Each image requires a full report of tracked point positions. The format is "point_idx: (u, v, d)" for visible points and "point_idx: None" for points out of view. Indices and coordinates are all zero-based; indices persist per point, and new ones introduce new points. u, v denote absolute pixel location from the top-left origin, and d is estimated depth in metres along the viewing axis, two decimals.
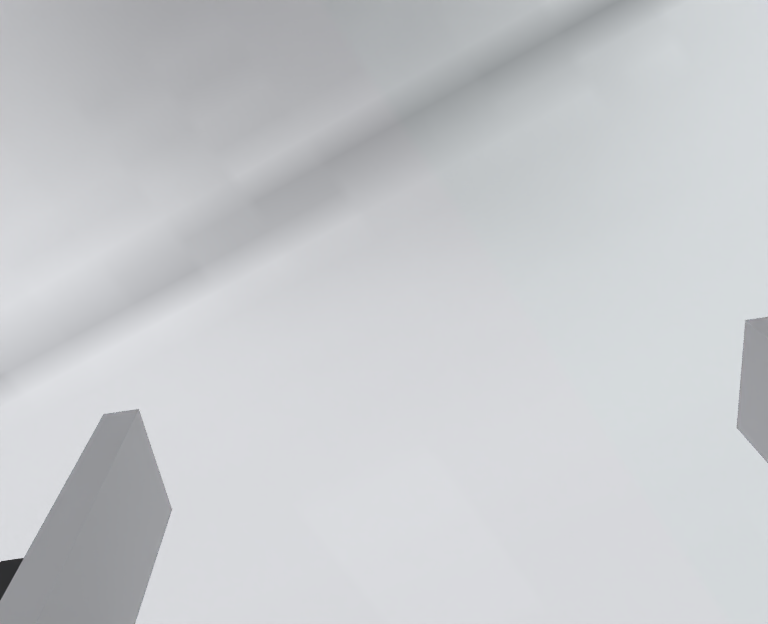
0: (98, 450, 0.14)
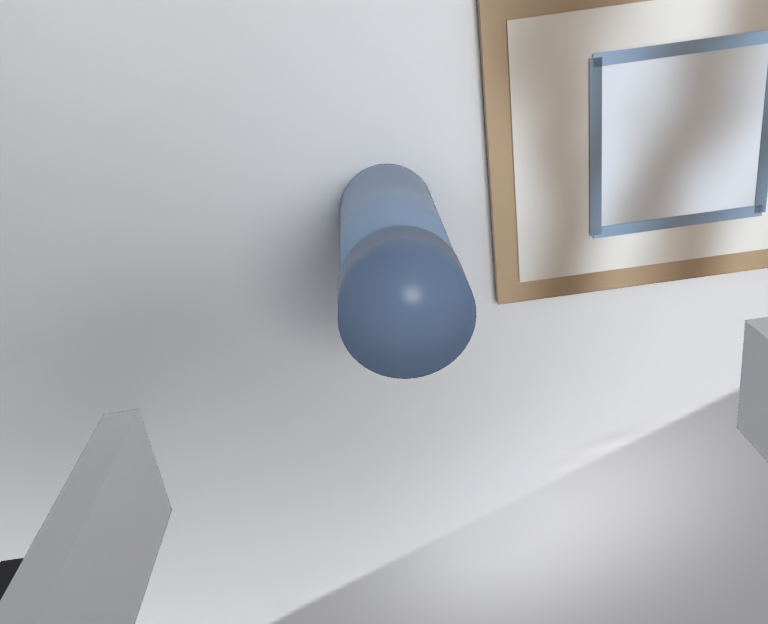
0: (99, 450, 0.14)
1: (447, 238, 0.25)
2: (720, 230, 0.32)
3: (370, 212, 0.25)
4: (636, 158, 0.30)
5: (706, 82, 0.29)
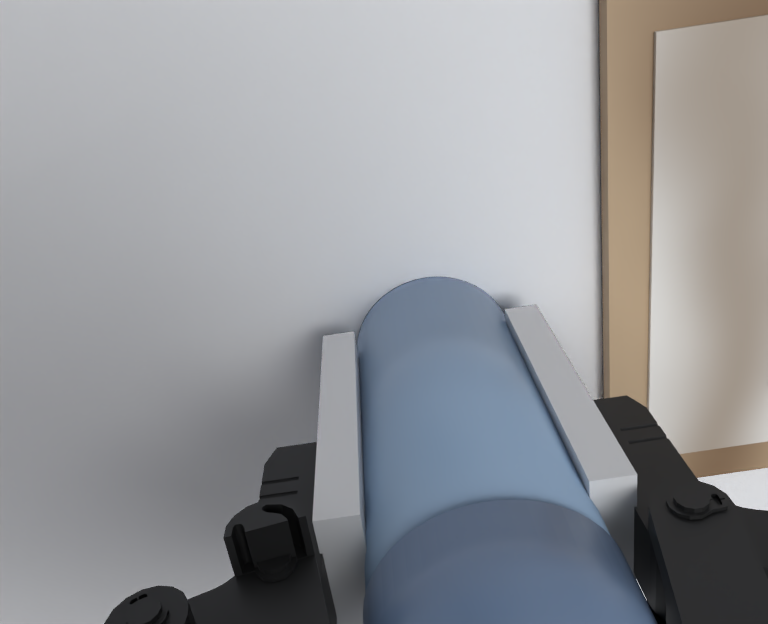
0: (336, 361, 0.16)
1: None
2: None
3: (424, 426, 0.12)
4: None
5: None
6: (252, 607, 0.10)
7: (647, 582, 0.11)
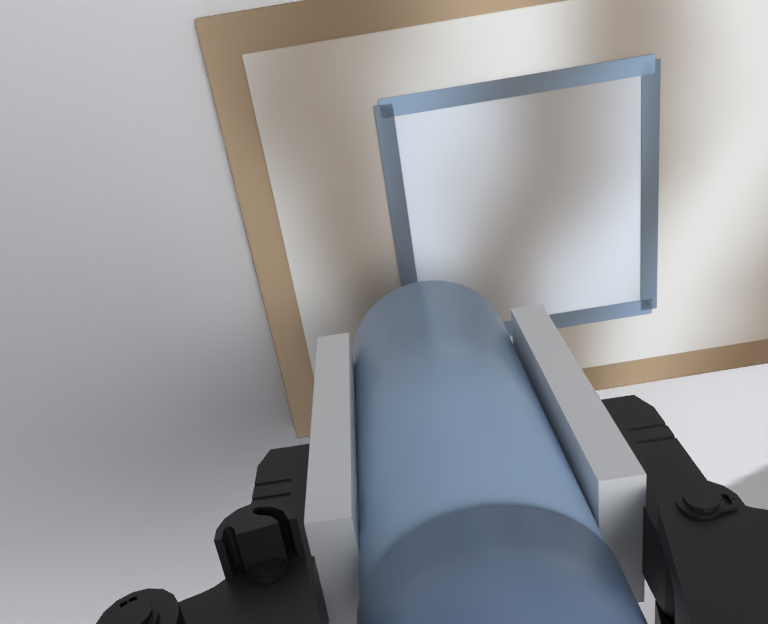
0: (329, 362, 0.16)
1: (579, 488, 0.12)
2: (595, 333, 0.23)
3: (418, 431, 0.12)
4: (463, 242, 0.21)
5: (553, 134, 0.20)
6: (243, 610, 0.10)
7: (656, 581, 0.11)
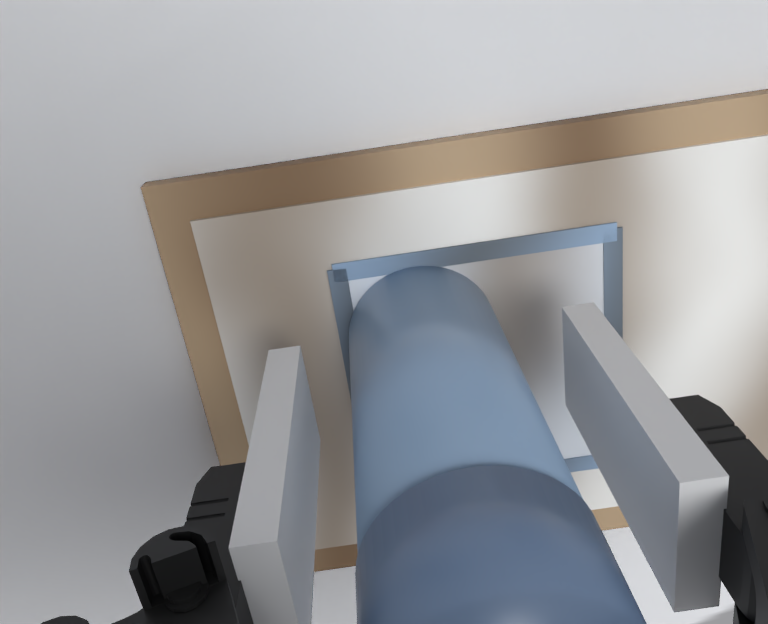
0: (277, 377, 0.16)
1: (560, 453, 0.13)
2: None
3: (411, 402, 0.13)
4: None
5: (513, 298, 0.19)
6: None
7: (737, 583, 0.11)
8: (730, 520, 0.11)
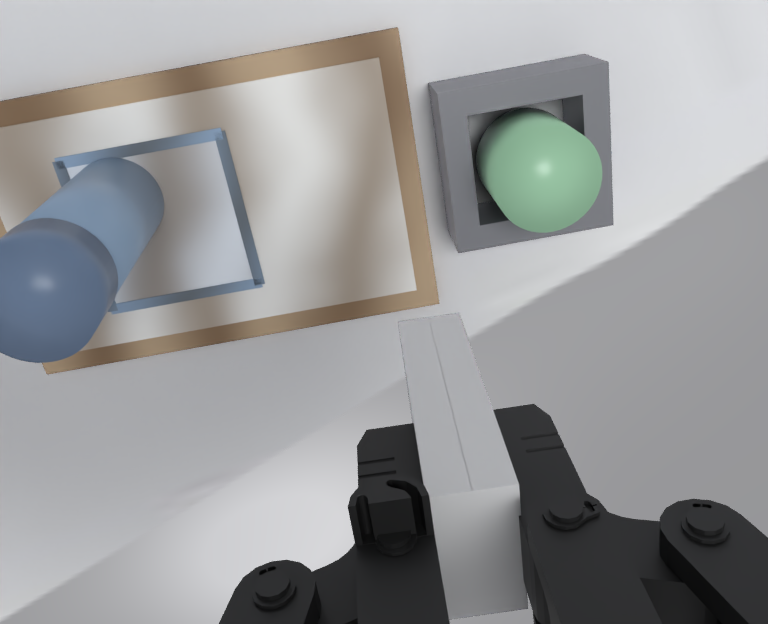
0: (416, 346, 0.16)
1: (111, 227, 0.26)
2: (230, 301, 0.35)
3: (40, 206, 0.26)
4: None
5: (169, 176, 0.32)
6: (371, 578, 0.10)
7: (532, 595, 0.11)
8: (522, 526, 0.11)
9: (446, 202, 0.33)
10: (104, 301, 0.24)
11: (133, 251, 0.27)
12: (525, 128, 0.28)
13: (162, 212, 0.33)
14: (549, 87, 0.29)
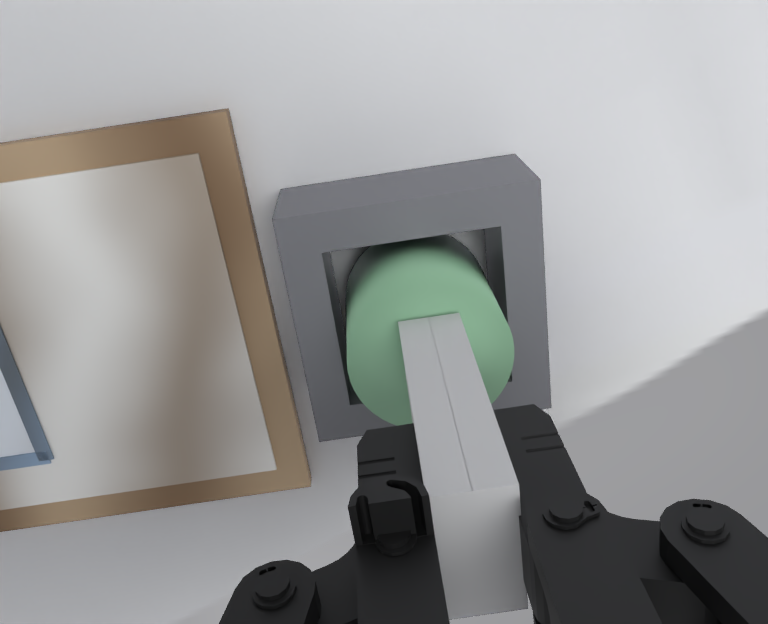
0: (416, 346, 0.16)
1: None
2: (6, 480, 0.24)
3: None
4: None
5: None
6: (371, 578, 0.10)
7: (532, 595, 0.11)
8: (521, 527, 0.11)
9: None
10: None
11: None
12: (395, 280, 0.18)
13: None
14: (449, 214, 0.19)
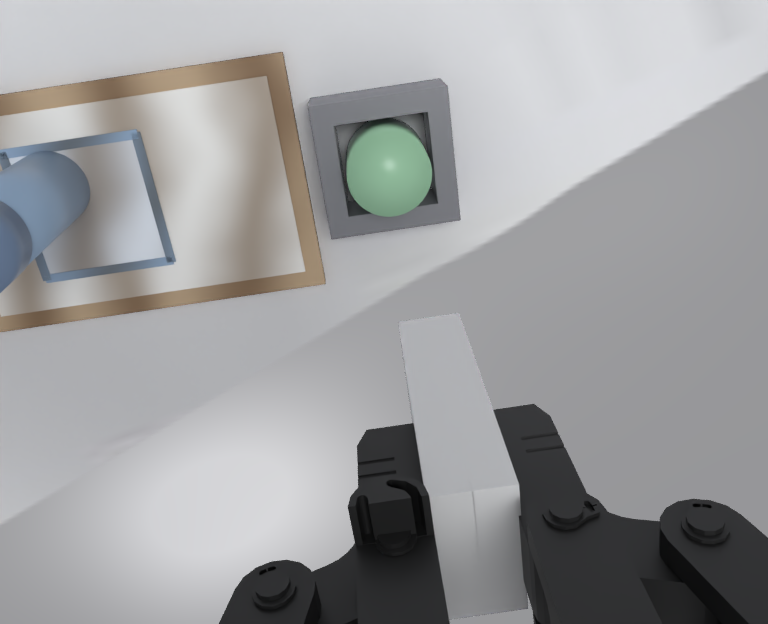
0: (416, 345, 0.16)
1: (30, 204, 0.32)
2: (146, 275, 0.42)
3: None
4: None
5: (94, 168, 0.39)
6: (371, 577, 0.10)
7: (532, 595, 0.11)
8: (521, 527, 0.11)
9: None
10: (16, 260, 0.30)
11: (51, 225, 0.34)
12: (371, 133, 0.35)
13: (87, 198, 0.39)
14: (400, 104, 0.36)
